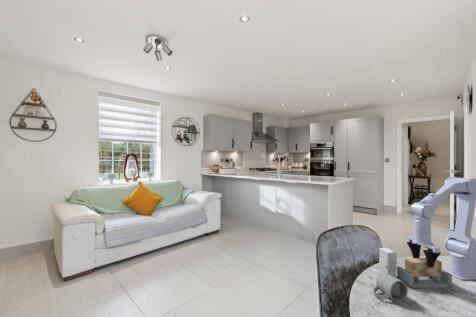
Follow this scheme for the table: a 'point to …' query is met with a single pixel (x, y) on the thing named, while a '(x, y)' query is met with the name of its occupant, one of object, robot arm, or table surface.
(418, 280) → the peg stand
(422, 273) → the oak plank
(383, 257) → the skincare box
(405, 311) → the table surface
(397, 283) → the ceramic mug
